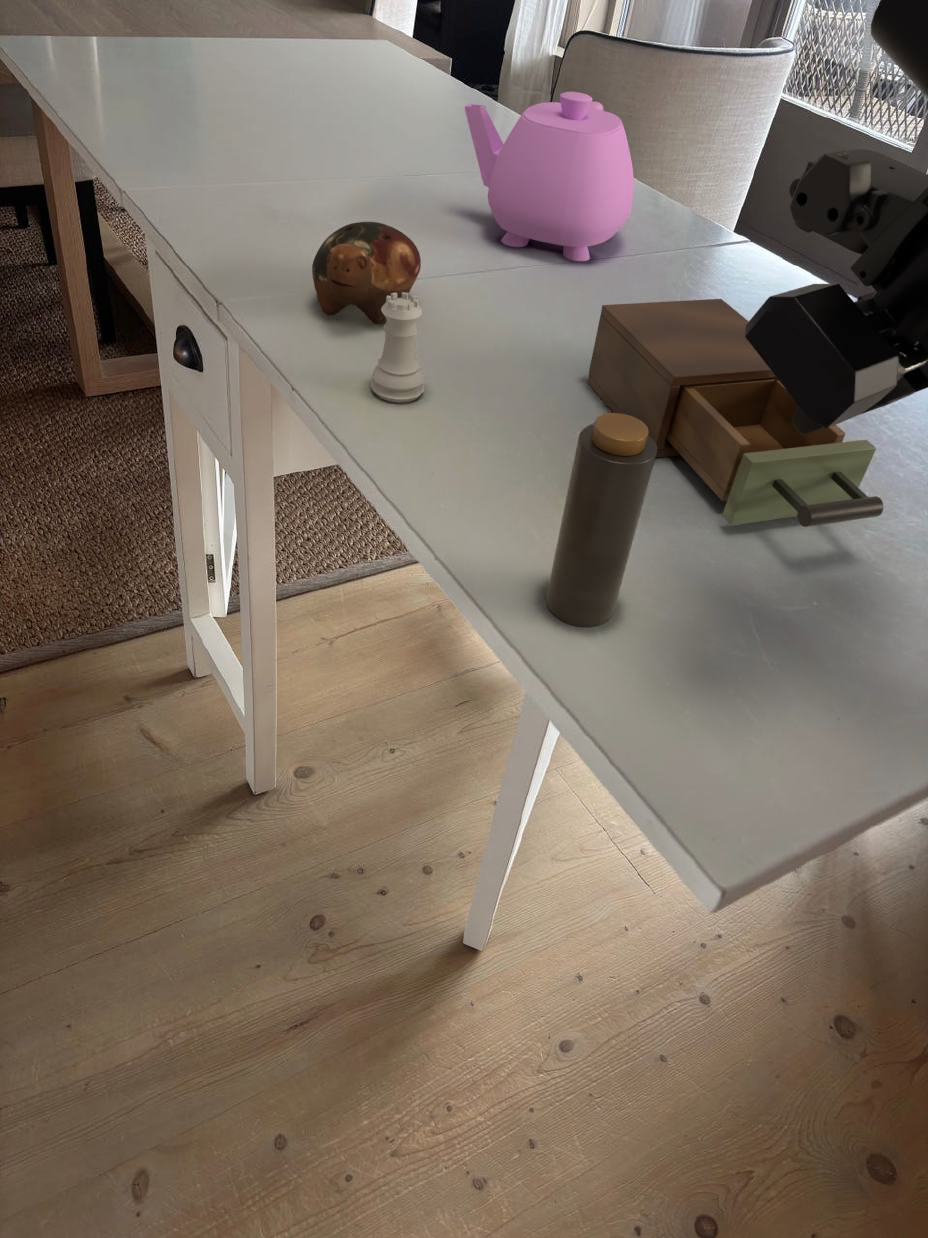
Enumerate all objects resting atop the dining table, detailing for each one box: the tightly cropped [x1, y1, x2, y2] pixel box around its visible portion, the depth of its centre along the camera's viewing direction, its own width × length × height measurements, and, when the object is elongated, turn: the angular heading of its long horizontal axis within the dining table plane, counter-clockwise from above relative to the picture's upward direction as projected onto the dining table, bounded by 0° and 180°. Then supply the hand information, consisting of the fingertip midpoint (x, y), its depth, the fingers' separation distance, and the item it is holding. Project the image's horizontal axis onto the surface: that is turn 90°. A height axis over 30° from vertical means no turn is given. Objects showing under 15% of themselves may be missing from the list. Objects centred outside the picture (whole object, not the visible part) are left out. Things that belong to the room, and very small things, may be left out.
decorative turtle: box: [311, 221, 422, 326], centre depth 88 cm, size 10×15×8 cm, turn 170°
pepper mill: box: [545, 412, 657, 628], centre depth 56 cm, size 4×4×13 cm
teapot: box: [464, 91, 635, 262], centre depth 105 cm, size 20×20×15 cm
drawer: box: [666, 377, 884, 528], centre depth 69 cm, size 16×10×5 cm, turn 19°
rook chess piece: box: [370, 292, 425, 404], centre depth 76 cm, size 4×4×8 cm
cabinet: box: [586, 298, 776, 459], centre depth 78 cm, size 13×12×7 cm
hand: (800, 427), depth 53 cm, fingers closed
